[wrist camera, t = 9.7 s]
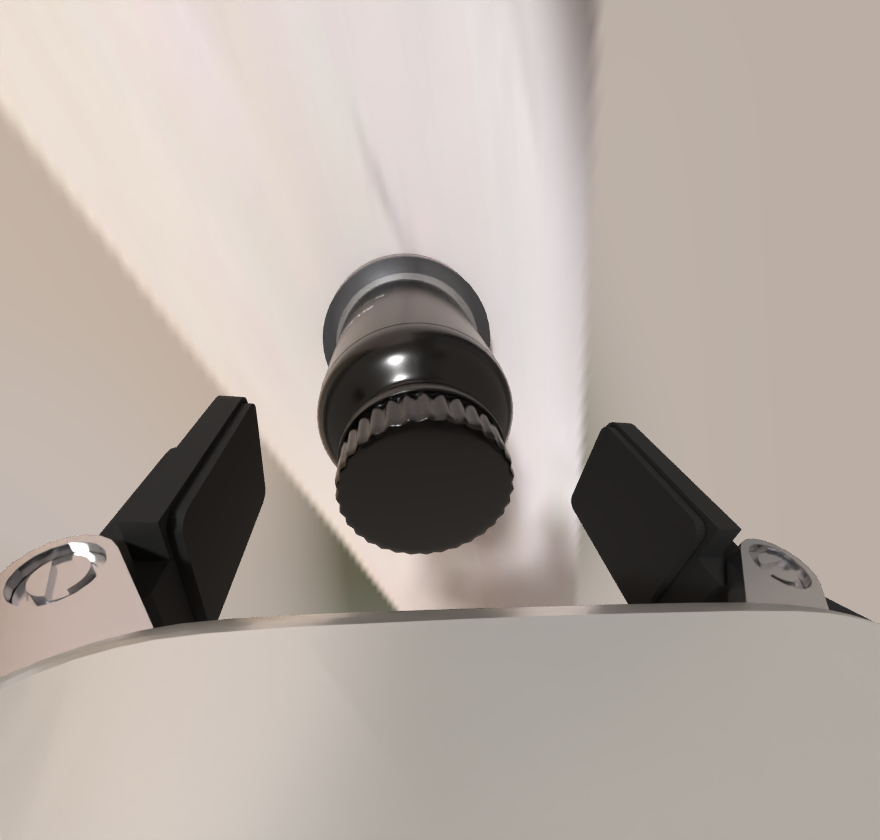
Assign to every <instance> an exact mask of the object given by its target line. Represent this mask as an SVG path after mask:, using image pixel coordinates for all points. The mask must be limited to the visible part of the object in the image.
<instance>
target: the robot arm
mask: <svg viewBox="0 0 880 840" xmlns="http://www.w3.org/2000/svg"><path fill="white" fill-rule="evenodd" d="M264 497H265V482H264V473H263V464H262V456H261V447H260V439H259V430H258V422H257V414H256V407H255V405H254V404H250V403H248V402H247V399H246V398H245V397H234V396H218V397H216V398H215V400H214V401H213V402H212V403H211V405H210V406H209V407H208V409H207V410H206V411H205V412H204V414H203V415H202V416H201V417H200V419H199V420H198V421H197V422H196V424H195V425H194V426H193V427H192V429H191V430H190V431H189V432H188V434H187V435H186V436H185V438H184V439H183V440H182V441H181V443H180V444H179V445H178V446H177V447H175V448H172V449H170V450H169V451H168V452H167V453H166V454H165V455H164V456H163V458H162V459H161V460H160V461H159V463H158V464H157V465H156V466H155V467H154V469H153V470H152V471H151V472H150V474H149V475H148V476H147V477H146V478H145V480H144V481H143V482H142V483H141V485H140V486H139V487H138V488H137V489H136V491H135V492H134V493H133V494H132V495H131V497H130V498H129V499H128V500H127V502H126V503H125V504H124V505H123V507H122V508H121V509H120V510H119V511H118V513H117V514H116V515H115V516H114V518H113V519H112V520H111V521H110V523H109V524H108V525H107V526H106V527H105V529H104V530H103V531H102V532H101V533H100V535H80V536H72V537H67V538H63V539H60V540H57V541H53V542H50V543H47V544H45V545H43V546H41V547H39V548H36V549H34V550H32V551H30V552H28V553H27V554H25V555H24V556H22V557H20V558H19V559H17V560H16V561H14V562H13V563H12V564H10V565H9V566H8V567H7V568H6V569H5V570H4V571H3V572H1V573H0V840H880V624H879V623H876V622H873V621H871V620H869V619H867V618H865V617H863V616H861V615H859V614H857V613H855V612H853V611H851V610H849V609H847V608H845V607H843V606H841V605H839V604H837V603H835V602H833V601H831V600H829V599H828V598H826V597H825V596H824V593H823V590H822V587H821V584H820V582H819V580H818V578H817V576H816V575H815V574H814V573H813V572H812V571H811V570H810V568H809V567H808V566H807V565H805V564H804V563H803V562H802V561H801V560H799V559H798V558H797V557H795V556H794V555H792V554H791V553H789V552H788V551H786V550H784V549H782V548H780V547H778V546H776V545H774V544H771V543H769V542H766V541H763V540H758V539H746V540H745V541H743V542H742V543H741V544H740V545H739V546H737V545H736V544H735V543H734V542H733V539H734V538H735V537H736V536H737V534H738V533H739V532H740V531H741V528H740V527H739V526H737V524H735V522H733V521H732V520H731V519H730V518H729V517H728V516H727V515H726V514H725V513H724V512H723V511H722V510H721V509H720V508H719V507H718V506H717V505H716V504H715V503H714V502H713V501H711V499H710V498H709V497H708V496H706V495H705V494H704V493H703V492H702V491H701V490H700V489H699V488H698V487H697V486H696V485H695V484H694V483H693V482H692V481H691V480H690V479H689V478H688V477H687V476H686V475H685V474H684V473H683V472H682V471H681V470H680V469H679V468H678V467H677V466H676V465H675V464H674V463H673V462H671V461H670V460H669V459H668V458H667V457H666V456H665V455H664V454H663V453H662V452H661V451H660V450H659V449H658V448H657V447H656V446H655V445H654V444H653V443H652V442H651V441H650V440H649V439H648V438H647V437H646V436H645V435H644V434H643V433H642V432H640V430H638V429H637V428H636V427H635V426H634V425H633V424H630V423H615V422H612V423H609V424H608V425H607V426H606V427H604V428H603V429H602V430H601V431H600V433H599V436H598V438H597V440H596V442H595V445H594V447H593V449H592V452H591V454H590V456H589V458H588V461H587V463H586V465H585V467H584V470H583V472H582V474H581V477H580V479H579V481H578V483H577V486H576V488H575V490H574V493H573V495H572V499H571V504H572V507H573V510H574V511H575V513H576V515H577V517H578V518H579V520H580V522H581V523H582V525H583V527H584V529H585V530H586V532H587V534H588V536H589V537H590V539H591V541H592V542H593V544H594V546H595V548H596V549H597V551H598V553H599V555H600V556H601V558H602V560H603V561H604V563H605V565H606V567H607V568H608V570H609V572H610V574H611V575H612V577H613V579H614V580H615V582H616V583H617V586H618V587H619V589H620V591H621V593H622V594H623V596H624V598H625V599H626V601H627V603H628V604H618V605H582V606H581V605H578V606H543V607H510V608H477V609H446V610H417V611H389V612H362V613H361V612H360V613H332V614H311V615H291V616H273V617H253V618H234V619H224V620H218V618H219V616H220V613H221V610H222V608H223V605H224V603H225V600H226V597H227V595H228V592H229V590H230V587H231V584H232V582H233V579H234V577H235V574H236V572H237V569H238V566H239V564H240V561H241V558H242V556H243V553H244V551H245V548H246V546H247V543H248V540H249V538H250V535H251V533H252V530H253V527H254V525H255V522H256V520H257V517H258V514H259V512H260V509H261V507H262V504H263V501H264Z"/></svg>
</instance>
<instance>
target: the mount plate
mask: <svg viewBox="0 0 880 840" xmlns="http://www.w3.org/2000/svg"><path fill="white" fill-rule="evenodd" d="M399 279H414V280H421V281H424V282H428V283H430V284H433V285H435V286H437V287H439V288H441V289H442V290H444V291H445V292H447V293H448V294H449V295H450V296H452V297H453V298H454V299H455V300H456V301H457V303H458V304H459V305H460V306H461V308H462V309H463V310H464V312H465V313H466V315H467V316H468V318H469V319H470V321H471V322H472V324H473V325H474V327H475V328H476V330H477V332H478V333H479V335H480V336H481V338H482V339H483V341H484V342H485V344H486V345H487V347H488V348H489V346H490V330H489V323H488V319H487V315H486V312H485V309H484V307H483V305H482V302H481V301H480V299H479V297H478V296H477V294H476V292H475V291H474V290H473V289H472V287H471V286H470V285H469V284H468V283H467V282H466V281H465V280H464V279H463V278H462V277H461V276H460V275H459V274H458V273H457V272H455V271H454V270H453V269H451V268H450V267H449V266H447V265H445V264H443V263H441V262H440V261H438V260H435V259H432V258H429V257H426V256H422V255H417V254H393V255H388V256H384V257H380V258H378V259H375V260H372V261H370V262H368V263H367V264H365V265H363V266H361V267H360V268H359V269H357V270H356V271H355V272H353V273H352V274H351V275H350V276H349V277H348V278H347V279H346V280H345V281H344V283H343V284H342V285H341V287H340V288H339V289H338V291H337V293H336V295H335V297H334V299H333V300H332V302H331V304H330V306H329V309H328V312H327V315H326V318H325V323H324V328H323V347H324V353H325V357H326V361H327V364H328V367H329V364H330V361H331V358H332V356H333V353H334V350H335V347H336V344H337V341H338V338H339V335H340V333H341V330H342V327H343V324H344V322H345V320H346V317H347V315H348V313H349V311H350V310H351V308H352V307H353V306H354V304H355V303H356V302H357V301H358V300H359V299H360V298H361V297H362V296H363V295H364V294H365V293H366V292H368V291H369V290H371V289H372V288H374V287H376V286H378V285H380V284H382V283H385V282H389V281H392V280H399Z"/></svg>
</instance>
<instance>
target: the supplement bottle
mask: <svg viewBox="0 0 880 840" xmlns="http://www.w3.org/2000/svg"><path fill="white" fill-rule="evenodd" d="M512 418H513V402H512V395H511V391H510V387H509V384H508V382H507V379H506V377H505V375H504V373H503V371H502V369H501V367H500V365H499V364H498V362H497V361H496V359H495V357H494V356H493V354H492V353H491V351H490V350H489V348H488V347H487V345H486V344H485V342H484V341H483V339H482V338H481V336H480V335H479V333H478V332H477V330H476V328H475V327H474V325H473V324H472V322H471V321H470V319H469V318H468V316H467V315H466V313H465V312H464V310H463V309H462V308H461V306H460V305H459V304H458V303H457V301H456V300H455V299H454V298H453V297H452V296H450V295H449V294H448V293H447V292H445V291H444V290H442V289H441V288H439V287H437V286H435V285H433V284H430V283H428V282H424V281H421V280H414V279H399V280H392V281H389V282H385V283H382V284H380V285H378V286H376V287H374V288H372V289H371V290H369V291H368V292H366V293H365V294H364V295H363V296H362V297H361V298H360V299H359V300H358V301H357V302H356V303H355V304H354V306H353V307H352V308H351V310H350V311H349V313H348V315H347V317H346V320H345V322H344V324H343V327H342V330H341V333H340V335H339V338H338V341H337V344H336V347H335V350H334V353H333V356H332V358H331V361H330V364H329V367H328V370H327V373H326V376H325V379H324V381H323V384H322V388H321V392H320V396H319V401H318V409H317V421H318V429H319V433H320V438H321V440H322V443H323V446H324V448H325V450H326V452H327V454H328V456H329V457H330V459H331V460H332V462H333V463H334V464H335V466H336V467H337V472H336V478H335V485H336V488H337V489H336V500H337V502H338V503H339V504H340V507H339V509H340V513H341V514H342V515H343V516H344V517H345V518H346V523H347V525H349V526H350V527H352V528H354V531H355V533H356V534H357V535H359V536H362V537H364V538H365V540H366V541H367V542H368V543H372V544H376V545H377V546H378V547H380V548H381V549H390V550H392V551H393V552H396V553H400V552H405V553H407V554H417V553H421V554H429V553H433V552H443V551H445V550H447V549H452V548H457V547H459V546H460V545H462V544H464V543H468V542H471V541H472V540H473V539H474V538H475V537H477V536H480V535H482V534H484V533H485V531H486V530H487V529H488V528H489V527H491V526H493V525H494V524H495V523H496V520H497V519H498V518H499V517H500V516H501V515H503V514H504V509H505V507H506V506H507V505H508V504H509V502H510V494H511V493H512V491H513V489H514V488H513V483H512V481H513V478H514V472H513V469H512V467H511V458H510V455H509V453H508V451H507V449H506V447H505V444H506V442H507V440H508V437H509V433H510V430H511V425H512Z"/></svg>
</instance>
